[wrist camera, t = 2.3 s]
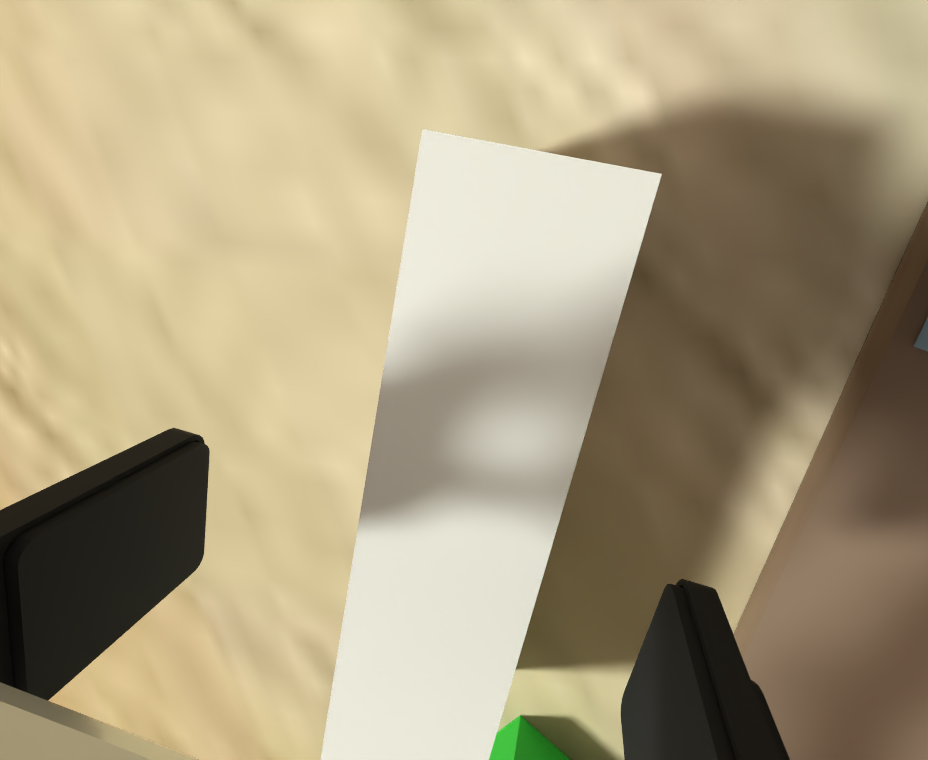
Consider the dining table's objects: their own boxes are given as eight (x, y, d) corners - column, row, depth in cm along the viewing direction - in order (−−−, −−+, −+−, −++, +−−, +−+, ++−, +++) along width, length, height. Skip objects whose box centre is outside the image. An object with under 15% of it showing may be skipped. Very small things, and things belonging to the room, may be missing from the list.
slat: (631, 201, 14) (661, 173, 8) (500, 665, 19) (461, 850, 13) (487, 172, 14) (422, 129, 9) (395, 628, 19) (315, 790, 14)
